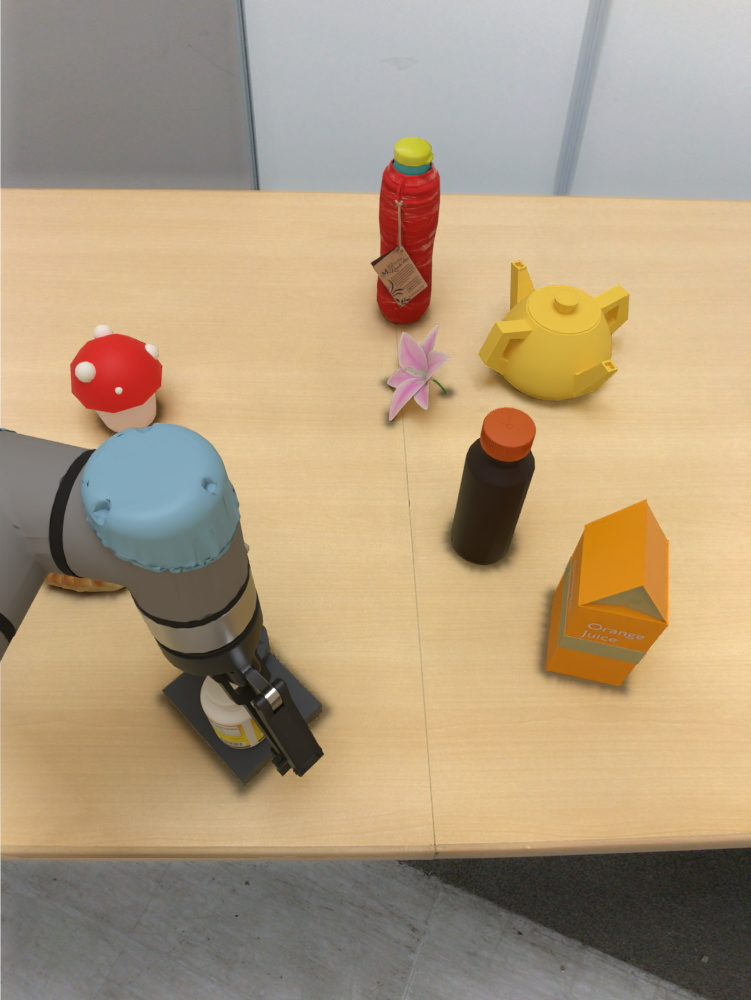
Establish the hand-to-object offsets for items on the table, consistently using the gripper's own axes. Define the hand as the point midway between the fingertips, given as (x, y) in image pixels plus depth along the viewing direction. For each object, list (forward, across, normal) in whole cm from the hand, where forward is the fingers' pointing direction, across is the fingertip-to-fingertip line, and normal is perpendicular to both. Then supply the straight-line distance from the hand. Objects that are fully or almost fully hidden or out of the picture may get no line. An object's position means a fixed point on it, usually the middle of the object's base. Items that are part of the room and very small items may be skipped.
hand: (241, 708), depth 68 cm
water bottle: (+5, +30, -52) cm, 60 cm away
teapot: (+5, +9, -60) cm, 61 cm away
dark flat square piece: (+5, +2, -1) cm, 5 cm away
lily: (+5, +18, -43) cm, 47 cm away
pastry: (+5, +25, +1) cm, 25 cm away
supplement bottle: (+3, 0, 0) cm, 3 cm away
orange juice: (+5, -18, -31) cm, 36 cm away
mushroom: (+5, +41, -15) cm, 44 cm away
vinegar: (+5, -2, -32) cm, 33 cm away
